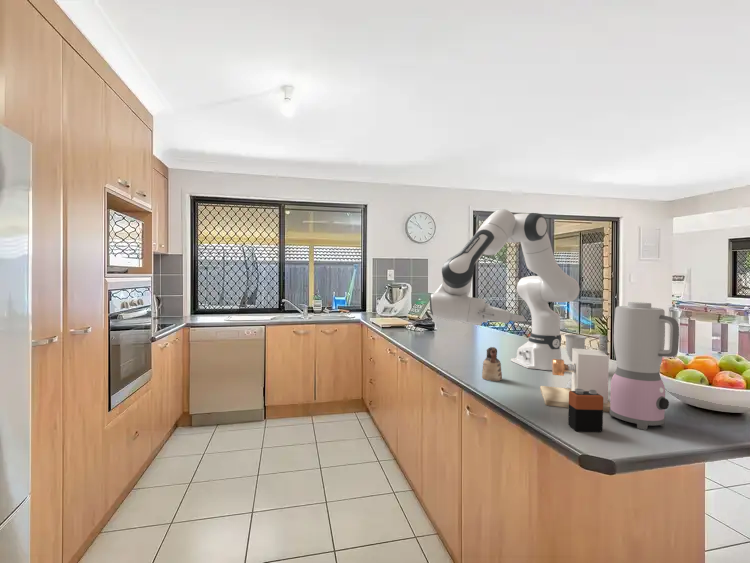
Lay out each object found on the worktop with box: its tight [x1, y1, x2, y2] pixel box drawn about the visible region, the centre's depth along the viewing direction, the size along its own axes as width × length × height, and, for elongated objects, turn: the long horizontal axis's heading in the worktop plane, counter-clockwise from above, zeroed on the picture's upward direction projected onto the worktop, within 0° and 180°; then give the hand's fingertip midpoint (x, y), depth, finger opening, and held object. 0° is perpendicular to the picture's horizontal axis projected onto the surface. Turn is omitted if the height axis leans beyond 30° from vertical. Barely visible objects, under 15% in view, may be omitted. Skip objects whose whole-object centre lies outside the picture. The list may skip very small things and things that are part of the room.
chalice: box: [564, 334, 587, 389], centre depth 135 cm, size 7×7×18 cm
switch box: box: [570, 348, 610, 404], centre depth 119 cm, size 8×10×14 cm
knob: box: [551, 359, 576, 377], centre depth 121 cm, size 9×5×5 cm, turn 72°
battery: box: [567, 388, 604, 433], centre depth 98 cm, size 4×7×10 cm, turn 89°
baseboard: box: [539, 385, 610, 413], centre depth 120 cm, size 18×16×2 cm
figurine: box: [481, 346, 503, 382], centre depth 144 cm, size 7×7×12 cm
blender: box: [609, 301, 680, 430], centre depth 102 cm, size 16×12×32 cm
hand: (521, 318), depth 124 cm, fingers open, 8 cm apart
